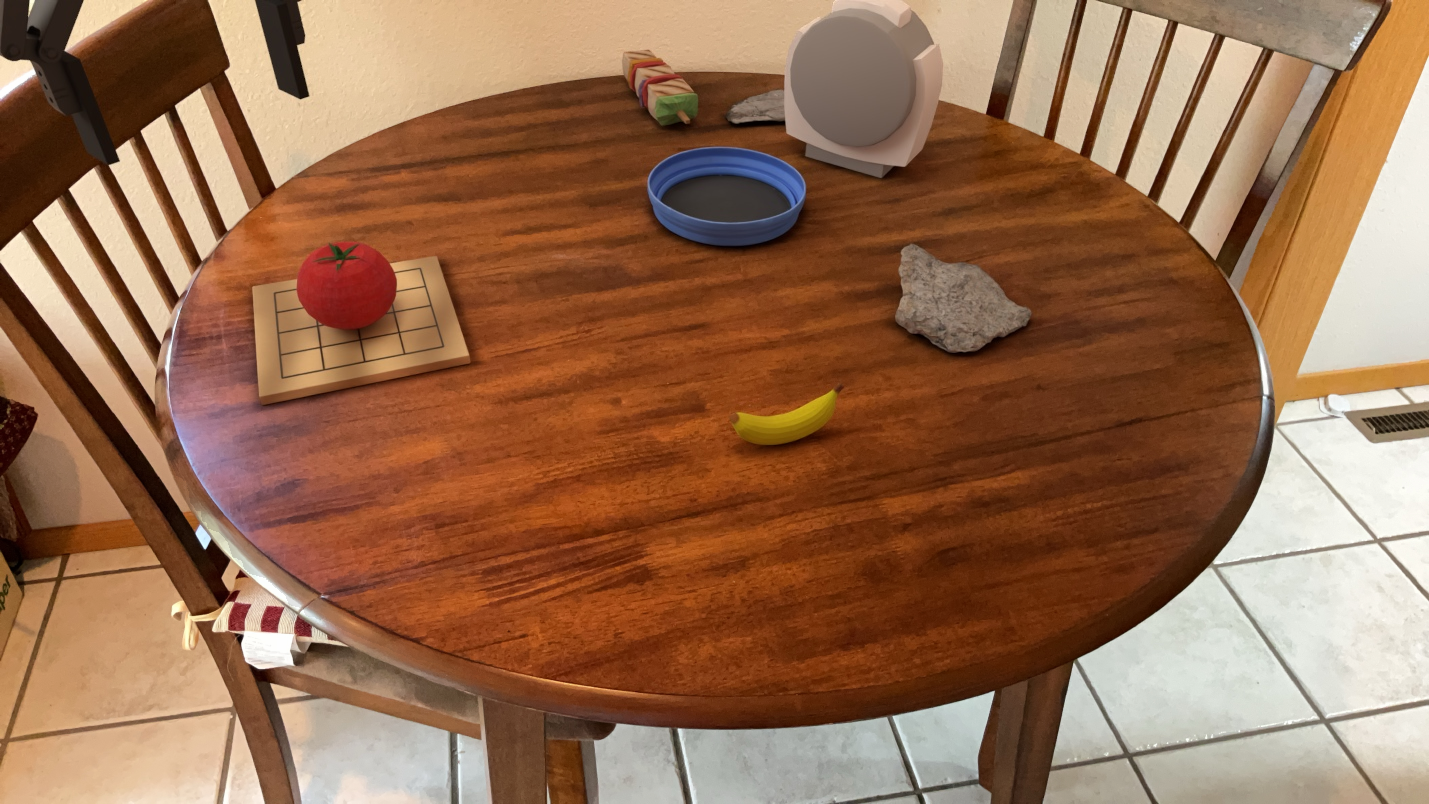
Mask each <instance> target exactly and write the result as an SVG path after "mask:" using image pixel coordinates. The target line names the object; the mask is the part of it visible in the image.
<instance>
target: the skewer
mask: <svg viewBox="0 0 1429 804" xmlns="http://www.w3.org/2000/svg"><path fill="white" fill-rule="evenodd" d="M621 68H622V72H623V77H624V78H625V79H626V82H627V84H628V87H629V89H630V90H632V91H633V92H634V93H635V94H636V96H637V98H638V100H639V106H640V107H641V108H646V109H647V110H648V112H649V114H650V116H652V118H653V119H654V120H656V121H657V122H658V123H659V125H661V126H662V127H663V126H669V125H670V126H671V125H674V124H676V123H681V122H683V123H684V124H686V125H688V124H691V120H692V119H695V118H696V117H697V116H698V113H699V108H698V107H699V95H698V94H697V93H695V90H693V89H692V88H691V86H690V85H689V84H688V83H687V82H686V81H685V80H684V78H683V77H682V75H679V74H676V73H675V71H674V70H673V68H672V66H671V65H670V64H668V63H666V61H664V60H663V58H661V57H657V56H656V54H654V53H653V51H652V50H650V49H642V50H629V51H624V52H622V59H621Z"/></svg>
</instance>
